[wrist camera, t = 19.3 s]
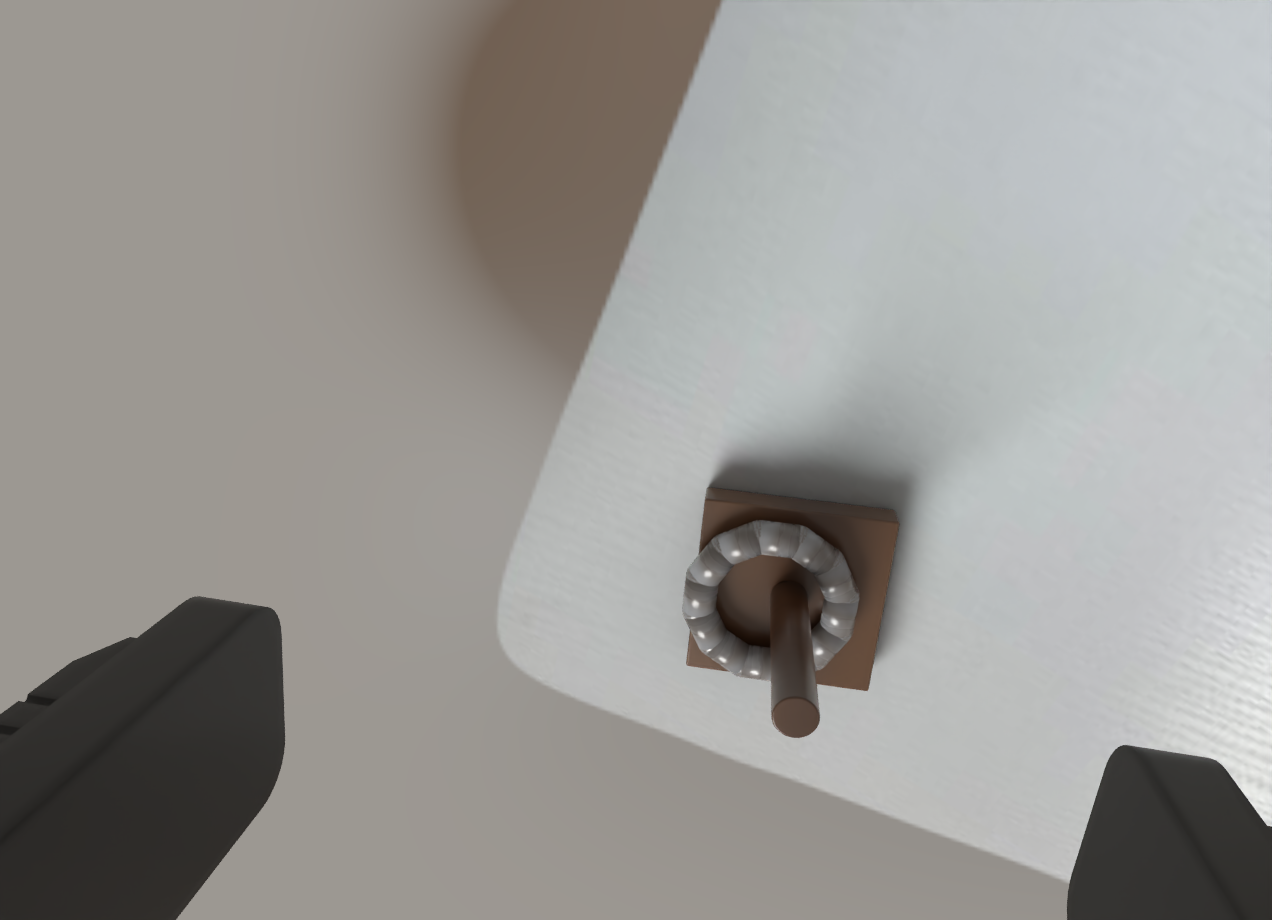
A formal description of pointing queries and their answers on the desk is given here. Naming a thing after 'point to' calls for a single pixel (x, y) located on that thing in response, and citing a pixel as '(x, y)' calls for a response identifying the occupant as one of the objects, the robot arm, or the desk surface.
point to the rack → (800, 597)
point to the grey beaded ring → (773, 542)
